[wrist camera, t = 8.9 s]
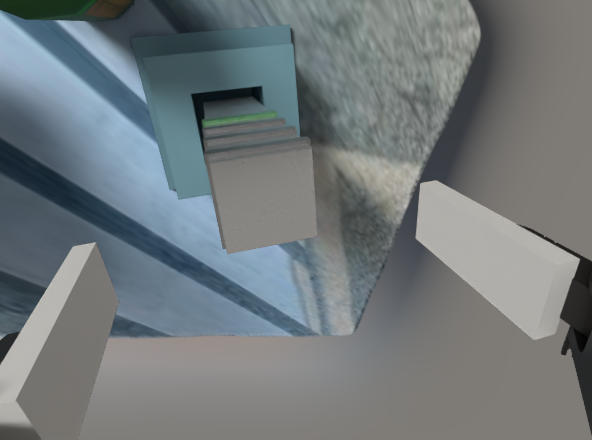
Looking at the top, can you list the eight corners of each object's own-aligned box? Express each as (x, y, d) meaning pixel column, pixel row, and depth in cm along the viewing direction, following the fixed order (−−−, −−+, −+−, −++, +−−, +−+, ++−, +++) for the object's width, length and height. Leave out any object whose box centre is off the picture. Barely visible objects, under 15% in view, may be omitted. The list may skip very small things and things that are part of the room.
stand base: (170, 188, 48) (153, 273, 29) (131, 37, 39) (74, 28, 21) (299, 167, 51) (355, 233, 33) (288, 24, 43) (354, 7, 25)
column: (210, 152, 38) (224, 258, 19) (200, 100, 36) (204, 159, 16) (260, 145, 39) (321, 238, 20) (253, 93, 37) (315, 143, 17)
